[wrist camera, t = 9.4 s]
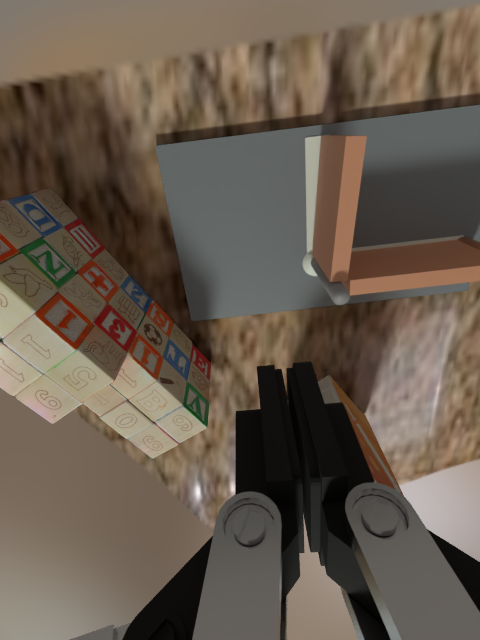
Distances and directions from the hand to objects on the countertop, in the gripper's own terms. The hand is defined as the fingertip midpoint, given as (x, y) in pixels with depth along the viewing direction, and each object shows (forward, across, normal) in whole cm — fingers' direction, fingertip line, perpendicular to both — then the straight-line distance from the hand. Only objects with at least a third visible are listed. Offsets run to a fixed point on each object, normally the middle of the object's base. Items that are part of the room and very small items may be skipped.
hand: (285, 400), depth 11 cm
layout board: (+21, -6, 0) cm, 22 cm away
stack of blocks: (+21, +13, +5) cm, 26 cm away
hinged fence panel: (+20, -6, -2) cm, 21 cm away
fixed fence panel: (+21, -12, +3) cm, 24 cm away
